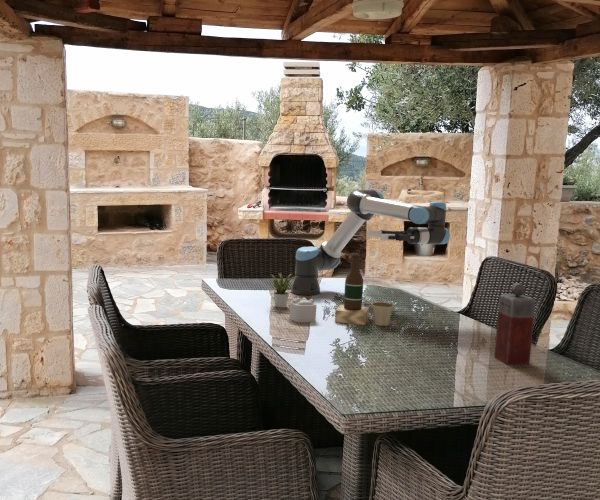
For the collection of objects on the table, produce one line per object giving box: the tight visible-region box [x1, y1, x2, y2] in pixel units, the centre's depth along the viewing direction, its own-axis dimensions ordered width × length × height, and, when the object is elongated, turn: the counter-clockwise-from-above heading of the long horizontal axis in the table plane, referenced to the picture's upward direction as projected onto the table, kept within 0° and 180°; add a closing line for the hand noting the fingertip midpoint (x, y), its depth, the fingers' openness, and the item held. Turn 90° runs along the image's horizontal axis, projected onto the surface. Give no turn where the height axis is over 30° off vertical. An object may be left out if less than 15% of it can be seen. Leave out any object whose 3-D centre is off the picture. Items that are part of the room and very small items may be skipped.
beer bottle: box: [343, 252, 364, 310], centre depth 286 cm, size 8×8×24 cm
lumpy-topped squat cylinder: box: [289, 297, 317, 323], centre depth 286 cm, size 10×13×9 cm
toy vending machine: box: [493, 282, 536, 366], centre depth 236 cm, size 9×11×28 cm
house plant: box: [269, 272, 298, 308], centre depth 309 cm, size 14×14×16 cm
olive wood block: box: [334, 303, 370, 326], centre depth 288 cm, size 13×13×5 cm
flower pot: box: [371, 301, 395, 327], centre depth 282 cm, size 9×9×9 cm
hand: (374, 235), depth 296 cm, fingers open, 13 cm apart
